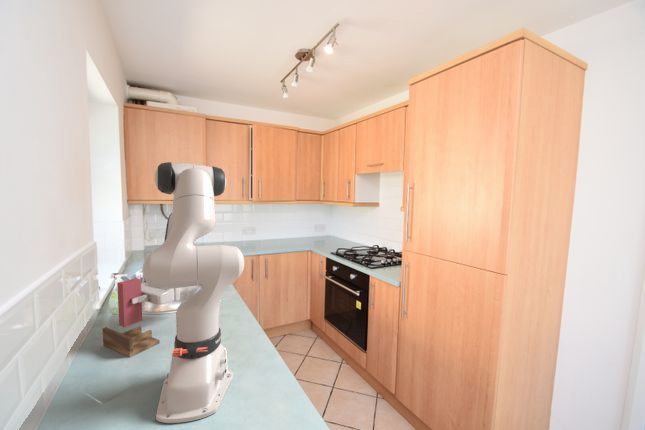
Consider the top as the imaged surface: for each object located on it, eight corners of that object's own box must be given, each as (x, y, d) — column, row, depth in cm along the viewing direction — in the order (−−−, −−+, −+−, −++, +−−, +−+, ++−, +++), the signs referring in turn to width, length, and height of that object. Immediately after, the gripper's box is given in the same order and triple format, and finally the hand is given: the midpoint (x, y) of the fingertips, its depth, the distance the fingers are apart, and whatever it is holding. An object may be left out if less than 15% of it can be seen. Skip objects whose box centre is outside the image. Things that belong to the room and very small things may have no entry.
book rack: (133, 333, 108) (132, 317, 108) (159, 343, 101) (159, 326, 100) (103, 345, 99) (102, 328, 99) (130, 357, 92) (129, 339, 92)
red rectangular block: (137, 318, 103) (135, 278, 102) (142, 320, 102) (140, 279, 100) (119, 325, 98) (117, 282, 97) (124, 327, 96) (122, 284, 95)
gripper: (148, 276, 115) (110, 286, 103) (181, 284, 106) (144, 296, 93) (148, 292, 115) (111, 303, 103) (182, 300, 106) (145, 314, 94)
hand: (127, 300), depth 98 cm, fingers closed on red rectangular block, 3 cm apart
